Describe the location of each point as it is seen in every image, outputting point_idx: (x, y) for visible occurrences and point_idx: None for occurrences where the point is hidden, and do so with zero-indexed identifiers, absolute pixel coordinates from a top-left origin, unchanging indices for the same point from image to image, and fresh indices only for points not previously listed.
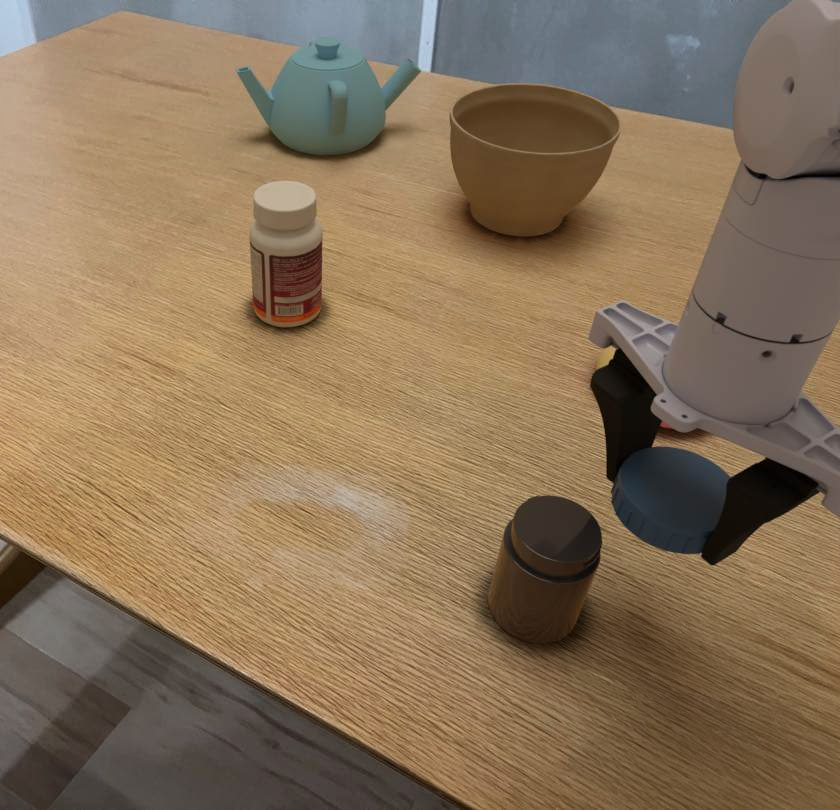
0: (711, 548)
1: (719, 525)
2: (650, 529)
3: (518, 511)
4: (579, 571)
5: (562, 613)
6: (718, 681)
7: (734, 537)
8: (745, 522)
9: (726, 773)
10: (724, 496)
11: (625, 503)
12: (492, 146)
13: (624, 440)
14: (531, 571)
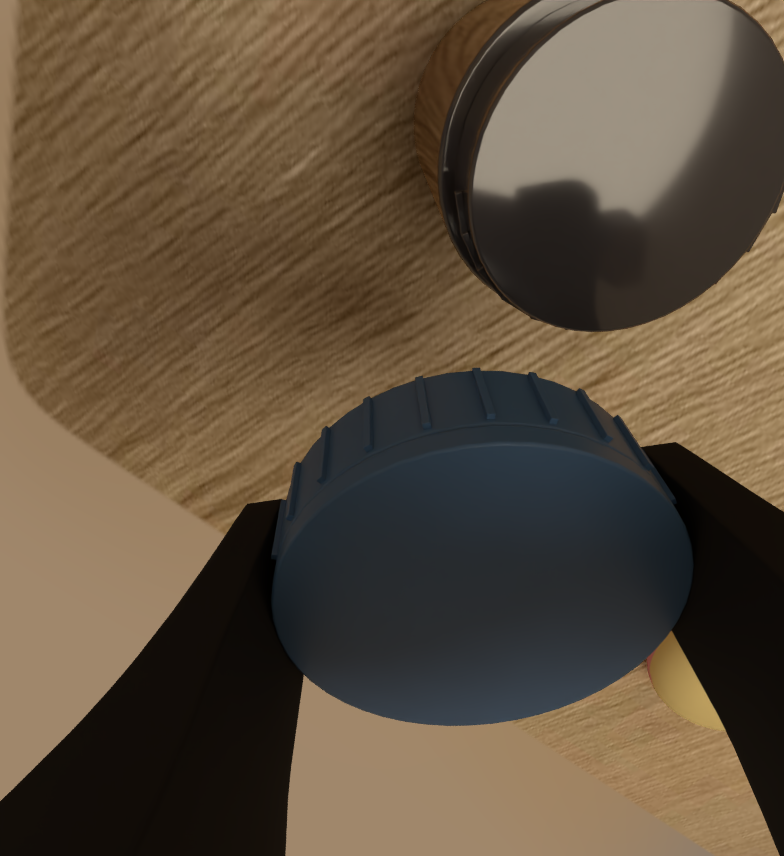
0: (238, 546)
1: (208, 647)
2: (390, 429)
3: (780, 78)
4: (458, 172)
5: (425, 117)
6: (231, 368)
7: (140, 655)
8: (50, 783)
9: (60, 264)
10: (385, 683)
11: (531, 421)
12: None
13: (776, 606)
14: (547, 12)
